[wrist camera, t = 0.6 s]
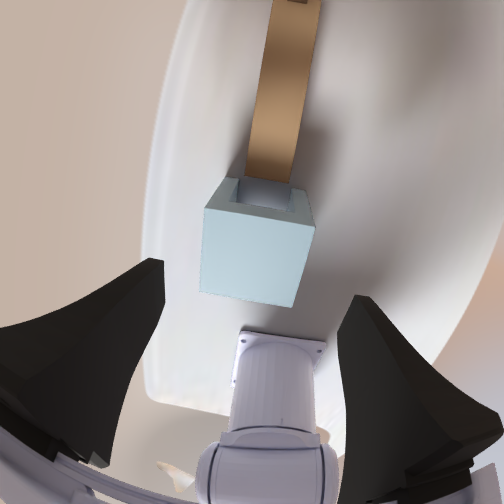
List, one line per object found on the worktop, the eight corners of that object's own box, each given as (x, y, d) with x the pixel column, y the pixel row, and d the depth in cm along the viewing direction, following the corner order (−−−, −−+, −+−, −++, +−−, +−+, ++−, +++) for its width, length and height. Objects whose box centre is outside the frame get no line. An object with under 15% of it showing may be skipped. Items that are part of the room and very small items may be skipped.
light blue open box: (289, 256, 20) (291, 307, 15) (218, 244, 20) (199, 291, 15) (305, 190, 17) (315, 227, 13) (225, 176, 17) (204, 207, 13)
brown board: (287, 171, 17) (288, 185, 14) (249, 165, 17) (243, 177, 14) (318, -3, 11) (325, -21, 8) (278, -10, 11) (277, -29, 8)
